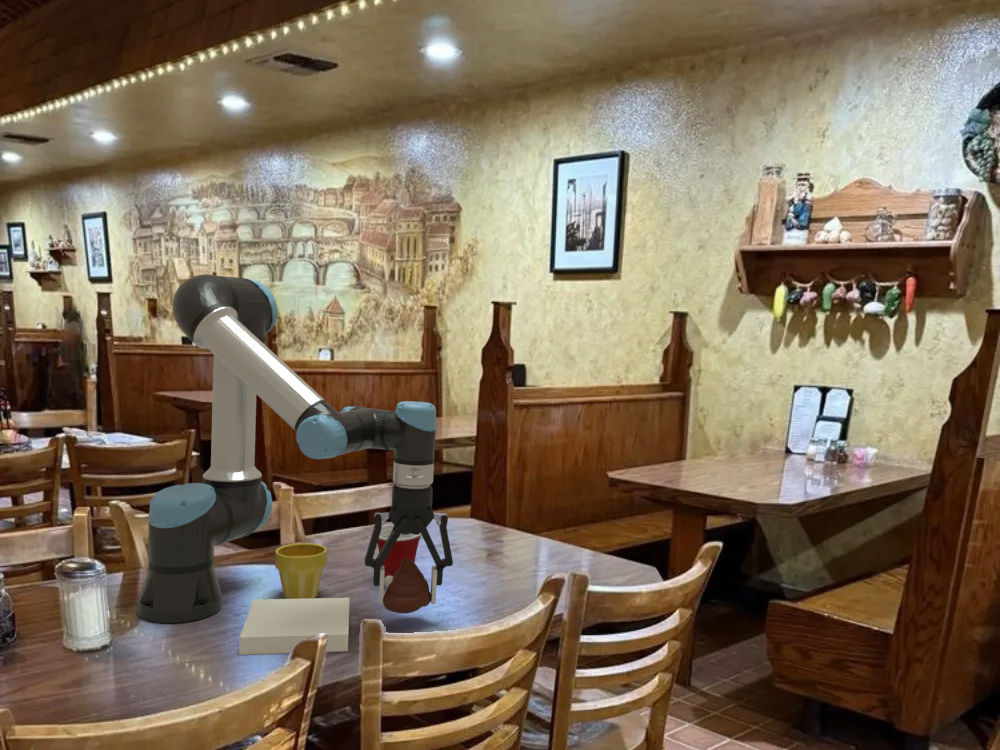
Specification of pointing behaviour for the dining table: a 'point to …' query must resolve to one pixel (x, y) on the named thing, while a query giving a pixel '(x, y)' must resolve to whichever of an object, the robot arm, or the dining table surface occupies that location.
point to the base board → (294, 624)
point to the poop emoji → (406, 589)
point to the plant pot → (300, 569)
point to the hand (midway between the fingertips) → (406, 601)
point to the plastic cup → (397, 549)
